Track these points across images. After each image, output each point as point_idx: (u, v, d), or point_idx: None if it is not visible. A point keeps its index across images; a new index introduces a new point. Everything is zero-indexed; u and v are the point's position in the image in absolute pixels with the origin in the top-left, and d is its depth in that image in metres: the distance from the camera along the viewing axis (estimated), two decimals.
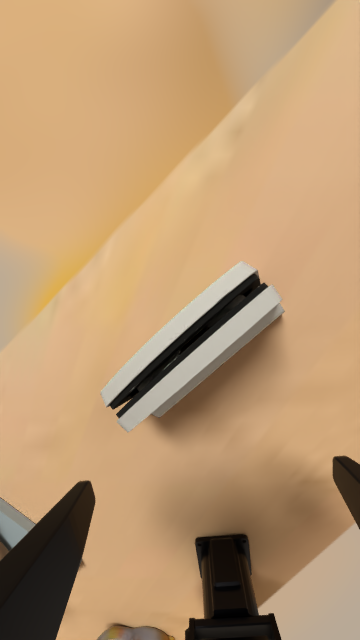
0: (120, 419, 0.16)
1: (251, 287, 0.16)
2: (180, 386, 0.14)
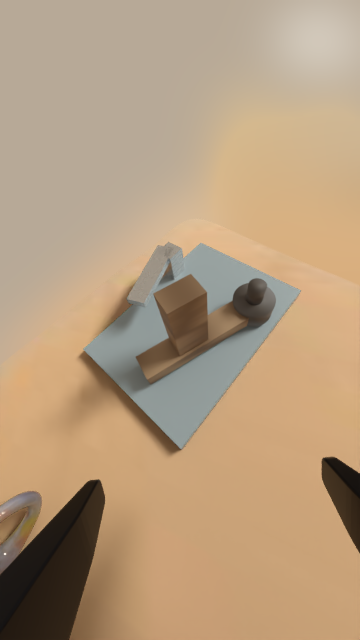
0: None
1: None
2: None
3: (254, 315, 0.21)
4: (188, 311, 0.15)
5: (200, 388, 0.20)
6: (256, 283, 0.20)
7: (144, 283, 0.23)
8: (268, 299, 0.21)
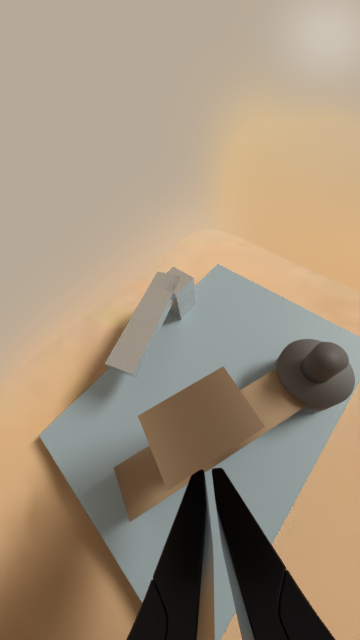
0: None
1: None
2: None
3: (319, 403, 0.12)
4: None
5: None
6: (328, 352, 0.11)
7: (135, 336, 0.15)
8: (341, 373, 0.13)
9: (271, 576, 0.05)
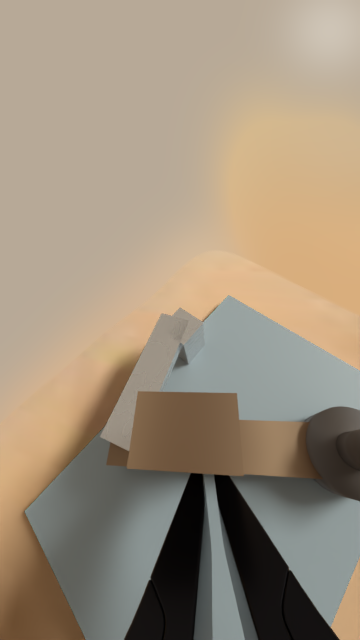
0: None
1: None
2: None
3: (337, 487, 0.10)
4: None
5: None
6: None
7: None
8: None
9: (274, 576, 0.05)
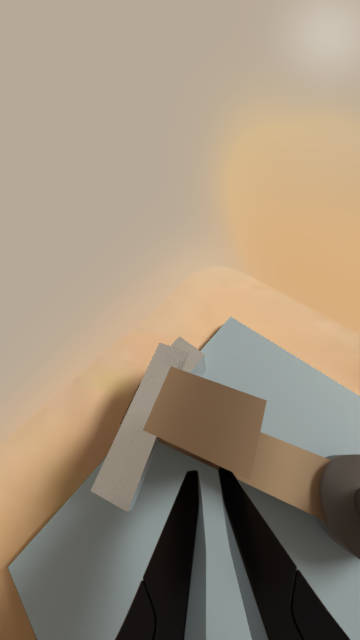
0: None
1: None
2: None
3: (341, 536, 0.09)
4: None
5: None
6: None
7: (131, 446, 0.11)
8: None
9: (282, 575, 0.05)
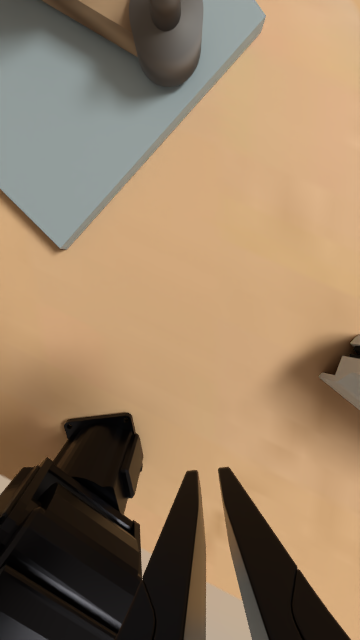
0: None
1: None
2: None
3: (134, 32, 0.12)
4: None
5: (83, 181, 0.16)
6: None
7: None
8: (175, 40, 0.12)
9: (283, 575, 0.05)
